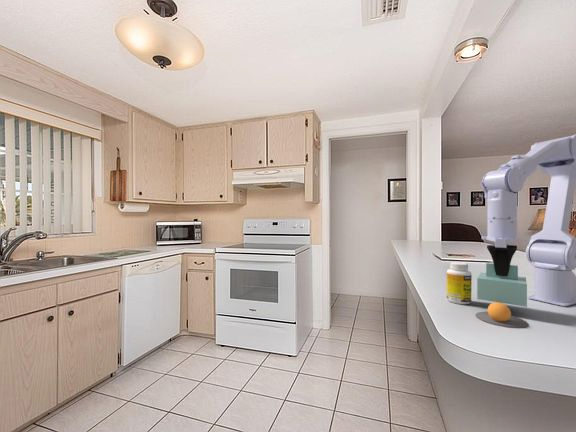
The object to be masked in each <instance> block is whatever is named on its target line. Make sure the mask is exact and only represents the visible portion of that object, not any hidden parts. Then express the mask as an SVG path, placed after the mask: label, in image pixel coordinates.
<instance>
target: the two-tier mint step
mask: <svg viewBox="0 0 576 432" xmlns="http://www.w3.org/2000/svg"><path fill="white" fill-rule="evenodd" d="M485 271H486V272H480V273H479V275H478V276H477V278H476V280H477V281H476V284H477V285H476V289H477V290H476V291H477V292H476V293H477V294H476V295H477V296H476V298H477V300H479V301H480V300H481V301H488V302H492V303H495V302H499V303H503V304H505V305H511V306H512V305H513V306H519V307H524V308H525V307H526V308H528V298H527V297H528V283H527V278H526V277H527V276H526V277H525V276H519V266H518V265H515V264H514V265H513V264H510V268H509V273H508V276H507V277H506V276H497V275H496V273H495V269H494V264H493V263H491V262H486V265H485Z"/></svg>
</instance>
